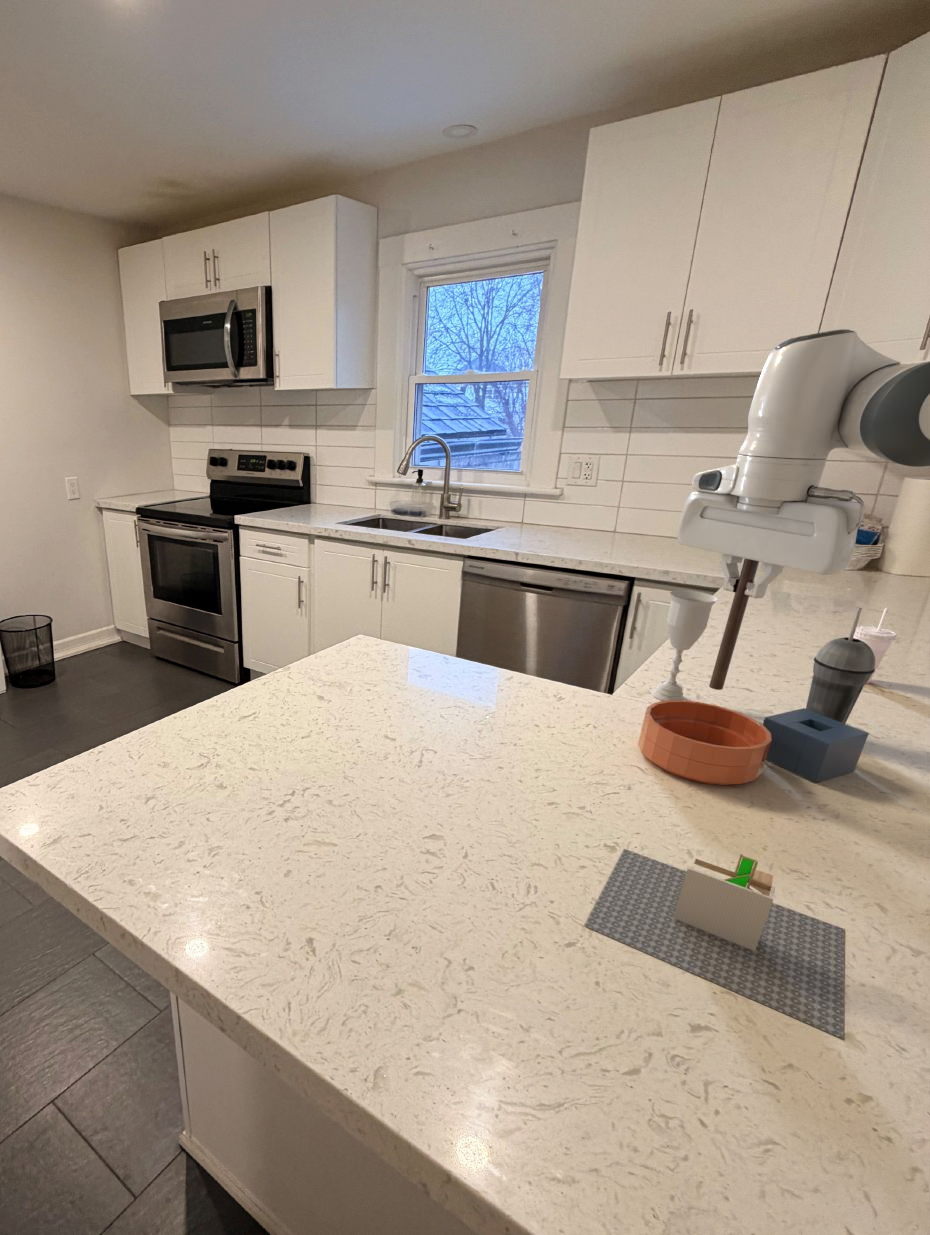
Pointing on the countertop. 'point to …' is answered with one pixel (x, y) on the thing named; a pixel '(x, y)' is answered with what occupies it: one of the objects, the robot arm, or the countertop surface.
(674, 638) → the chalice
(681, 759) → the bowl
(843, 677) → the beverage cup
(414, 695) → the countertop surface
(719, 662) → the stick
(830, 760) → the holder
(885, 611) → the smoothie
